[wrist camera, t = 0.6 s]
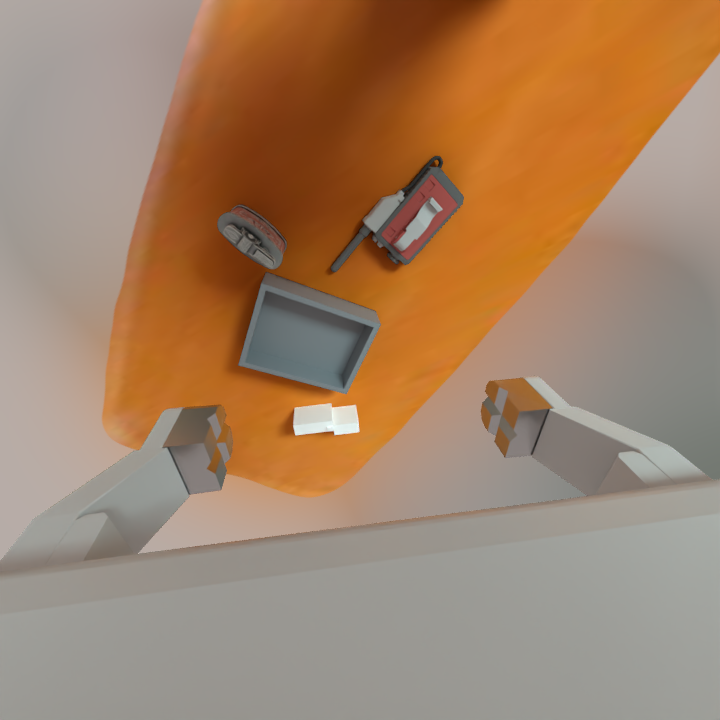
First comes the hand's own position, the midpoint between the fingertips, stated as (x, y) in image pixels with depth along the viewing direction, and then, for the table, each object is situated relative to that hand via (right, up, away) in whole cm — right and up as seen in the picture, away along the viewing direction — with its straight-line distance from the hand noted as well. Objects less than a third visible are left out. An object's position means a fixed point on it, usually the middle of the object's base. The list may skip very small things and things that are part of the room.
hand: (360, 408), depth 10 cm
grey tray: (-8, +6, +43) cm, 44 cm away
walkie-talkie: (+5, +20, +36) cm, 42 cm away
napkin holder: (-6, -8, +53) cm, 54 cm away
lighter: (-14, +19, +34) cm, 41 cm away
